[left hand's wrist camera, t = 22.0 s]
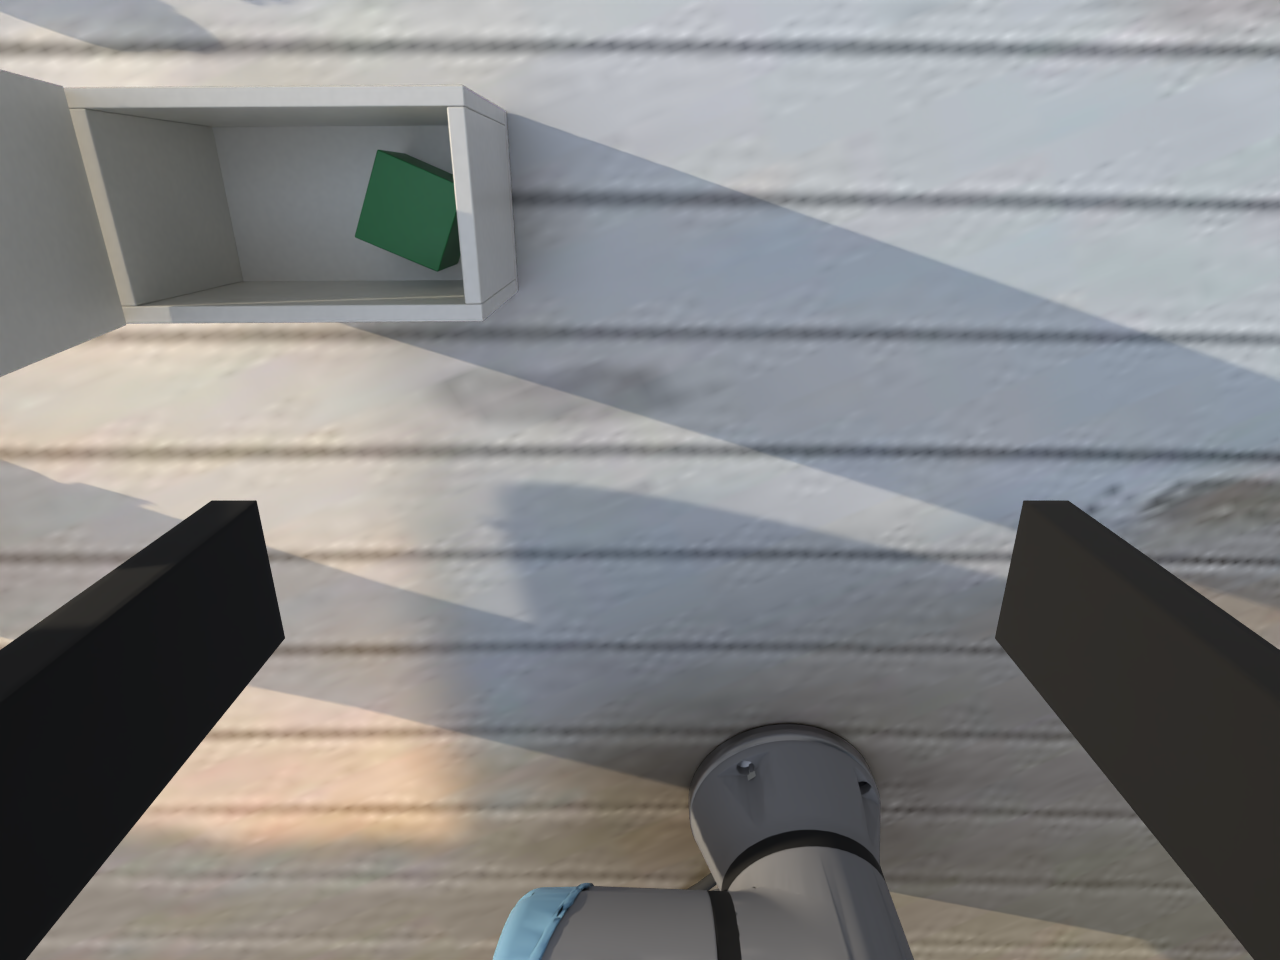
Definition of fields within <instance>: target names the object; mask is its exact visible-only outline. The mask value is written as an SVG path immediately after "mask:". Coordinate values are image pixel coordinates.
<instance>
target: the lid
mask: <svg viewBox="0 0 1280 960" xmlns="http://www.w3.org/2000/svg"><path fill="white" fill-rule="evenodd" d="M125 325H126V321H125V317H124V313H123V309H122V306H121V302H120V298H119V294H118V291H117V287H116V283H115V279H114V276H113V272H112V268H111V264H110V261H109V257H108V253H107V249H106V245H105V242H104V238H103V234H102V230H101V227H100V223H99V219H98V215H97V212H96V208H95V204H94V200H93V197H92V193H91V189H90V185H89V182H88V178H87V174H86V170H85V167H84V163H83V159H82V155H81V152H80V148H79V144H78V140H77V137H76V133H75V129H74V125H73V122H72V118H71V114H70V110H69V107H68V103H67V99H66V95H65V92H64V88H63V86H60V85H56V84H53V83H49V82H45V81H41V80H37V79H34V78H30V77H26V76H22V75H19V74H15V73H11V72H7V71H4V70H0V377H1V376H4V375H6V374H8V373H11V372H13V371H16V370H18V369H21V368H23V367H25V366H28V365H30V364H33V363H35V362H38V361H40V360H42V359H45V358H47V357H50V356H52V355H55V354H57V353H59V352H62V351H64V350H67V349H69V348H72V347H74V346H76V345H79V344H81V343H84V342H86V341H89V340H91V339H93V338H96V337H98V336H101V335H103V334H106V333H108V332H110V331H113V330H115V329H118V328H120V327H123V326H125Z"/></svg>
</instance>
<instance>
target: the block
mask: <svg viewBox="0 0 1280 960" xmlns="http://www.w3.org/2000/svg"><path fill="white" fill-rule="evenodd" d="M355 238H357V239H360V240H362V241H365V242H367V243H369V244H372V245H374V246H377V247H379V248H381V249H384V250H386V251H389V252H391V253H393V254H396V255H398V256H401V257H403V258H405V259H408V260H410V261H413V262H415V263H417V264H420V265H422V266H424V267H427V268H429V269H432V270H434V271H436V272H439V271H441V270H443V269H446V268H448V267H451V266H453V265H456V264H458V261H459V258H460V255H461V254H460V243H459V233H458V222H457V211H456V200H455V190H454V179H453V174H451V173H448V172H446V171H444V170H442V169H439V168H437V167H435V166H432V165H430V164H428V163H426V162H423V161H421V160H419V159H417V158H414V157H412V156H410V155H407V154H405V153H398V152H392V151H385V150H377V153H376V157H375V160H374V164H373V168H372V172H371V176H370V179H369V183H368V187H367V191H366V195H365V199H364V202H363V206H362V210H361V214H360V218H359V221H358V225H357V229H356V233H355Z"/></svg>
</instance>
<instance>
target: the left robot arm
mask: <svg viewBox="0 0 1280 960" xmlns="http://www.w3.org/2000/svg"><path fill="white" fill-rule="evenodd" d="M284 639H285V636H284V631H283V626H282V621H281V617H280V612H279V607H278V602H277V597H276V593H275V588H274V583H273V578H272V573H271V568H270V564H269V559H268V554H267V549H266V544H265V539H264V535H263V530H262V525H261V520H260V515H259V510H258V506H257V501H211V502H209V503H208V504H206V505H205V506H203V507H202V508H201V509H199V510H198V511H196V512H195V513H194V514H192V515H191V516H189V517H188V518H186V519H185V520H184V521H182V522H181V523H179V524H178V525H177V526H175V527H174V528H172V529H171V530H170V531H168V532H167V533H165V534H164V535H162V536H161V537H160V538H158V539H157V540H155V541H154V542H153V543H151V544H150V545H148V546H147V547H145V548H144V549H143V550H141V551H140V552H138V553H137V554H136V555H134V556H133V557H131V558H130V559H128V560H127V561H126V562H124V563H123V564H121V565H120V566H119V567H117V568H116V569H114V570H113V571H112V572H110V573H109V574H107V575H106V576H104V577H103V578H102V579H100V580H99V581H97V582H96V583H95V584H93V585H92V586H90V587H89V588H87V589H86V590H85V591H83V592H82V593H80V594H79V595H78V596H76V597H75V598H73V599H72V600H70V601H69V602H68V603H66V604H65V605H63V606H62V607H61V608H59V609H58V610H56V611H55V612H54V613H52V614H51V615H49V616H48V617H46V618H45V619H44V620H42V621H41V622H39V623H38V624H37V625H35V626H34V627H32V628H31V629H29V630H28V631H27V632H25V633H24V634H22V635H21V636H20V637H18V638H17V639H15V640H14V641H13V642H11V643H10V644H8V645H7V646H5V647H4V648H3V649H1V650H0V960H26V959H27V957H28V956H29V955H30V954H31V953H32V951H33V950H34V949H35V948H36V946H37V945H38V944H39V943H40V941H41V940H42V939H43V938H44V936H45V935H46V934H47V933H48V931H49V930H50V929H51V928H52V926H53V925H54V924H55V923H56V922H57V920H58V919H59V918H60V917H61V915H62V914H63V913H64V912H65V910H66V909H67V908H68V907H69V905H70V904H71V903H72V902H73V900H74V899H75V898H76V897H77V895H78V894H79V893H80V892H81V891H82V889H83V888H84V887H85V886H86V884H87V883H88V882H89V881H90V879H91V878H92V877H93V876H94V874H95V873H96V872H97V871H98V869H99V868H100V867H101V866H102V864H103V863H104V862H105V861H106V859H107V858H108V857H109V856H110V855H111V853H112V852H113V851H114V850H115V848H116V847H117V846H118V845H119V843H120V842H121V841H122V840H123V838H124V837H125V836H126V835H127V833H128V832H129V831H130V830H131V828H132V827H133V826H134V825H135V824H136V822H137V821H138V820H139V819H140V817H141V816H142V815H143V814H144V812H145V811H146V810H147V809H148V807H149V806H150V805H151V804H152V802H153V801H154V800H155V799H156V797H157V796H158V795H159V794H160V793H161V791H162V790H163V789H164V788H165V786H166V785H167V784H168V783H169V781H170V780H171V779H172V778H173V776H174V775H175V774H176V773H177V771H178V770H179V769H180V768H181V766H182V765H183V764H184V763H185V762H186V760H187V759H188V758H189V757H190V755H191V754H192V753H193V752H194V750H195V749H196V748H197V747H198V745H199V744H200V743H201V742H202V740H203V739H204V738H205V737H206V735H207V734H208V733H209V732H210V731H211V729H212V728H213V727H214V726H215V724H216V723H217V722H218V721H219V719H220V718H221V717H222V716H223V714H224V713H225V712H226V711H227V709H228V708H229V707H230V706H231V704H232V703H233V702H234V701H235V700H236V698H237V697H238V696H239V695H240V693H241V692H242V691H243V690H244V688H245V687H246V686H247V685H248V683H249V682H250V681H251V680H252V678H253V677H254V676H255V675H256V673H257V672H258V671H259V670H260V669H261V667H262V666H263V665H264V664H265V662H266V661H267V660H268V659H269V657H270V656H271V655H272V654H273V652H274V651H275V650H276V649H277V647H278V646H279V645H280V644H281V642H282V641H283V640H284ZM995 639H996V640H997V641H998V642H999V644H1000V645H1001V646H1002V647H1003V649H1004V650H1005V651H1006V652H1007V654H1008V655H1009V656H1010V657H1011V659H1012V660H1013V661H1014V662H1015V664H1016V665H1017V666H1018V667H1019V669H1020V670H1021V671H1022V672H1023V673H1024V675H1025V676H1026V677H1027V678H1028V680H1029V681H1030V682H1031V683H1032V685H1033V686H1034V687H1035V688H1036V690H1037V691H1038V692H1039V693H1040V695H1041V696H1042V697H1043V698H1044V700H1045V701H1046V702H1047V703H1048V704H1049V706H1050V707H1051V708H1052V709H1053V711H1054V712H1055V713H1056V714H1057V716H1058V717H1059V718H1060V719H1061V721H1062V722H1063V723H1064V724H1065V726H1066V727H1067V728H1068V729H1069V731H1070V732H1071V733H1072V734H1073V735H1074V737H1075V738H1076V739H1077V740H1078V742H1079V743H1080V744H1081V745H1082V747H1083V748H1084V749H1085V750H1086V752H1087V753H1088V754H1089V755H1090V757H1091V758H1092V759H1093V760H1094V762H1095V763H1096V764H1097V765H1098V766H1099V768H1100V769H1101V770H1102V771H1103V773H1104V774H1105V775H1106V776H1107V778H1108V779H1109V780H1110V781H1111V783H1112V784H1113V785H1114V786H1115V788H1116V789H1117V790H1118V791H1119V793H1120V794H1121V795H1122V796H1123V797H1124V799H1125V800H1126V801H1127V802H1128V804H1129V805H1130V806H1131V807H1132V809H1133V810H1134V811H1135V812H1136V814H1137V815H1138V816H1139V817H1140V819H1141V820H1142V821H1143V822H1144V824H1145V825H1146V826H1147V827H1148V828H1149V830H1150V831H1151V832H1152V833H1153V835H1154V836H1155V837H1156V838H1157V840H1158V841H1159V842H1160V843H1161V845H1162V846H1163V847H1164V848H1165V850H1166V851H1167V852H1168V853H1169V855H1170V856H1171V857H1172V858H1173V860H1174V861H1175V862H1176V863H1177V864H1178V866H1179V867H1180V868H1181V869H1182V871H1183V872H1184V873H1185V874H1186V876H1187V877H1188V878H1189V879H1190V881H1191V882H1192V883H1193V884H1194V886H1195V887H1196V888H1197V889H1198V891H1199V892H1200V893H1201V894H1202V895H1203V897H1204V898H1205V899H1206V900H1207V902H1208V903H1209V904H1210V905H1211V907H1212V908H1213V909H1214V910H1215V912H1216V913H1217V914H1218V915H1219V917H1220V918H1221V919H1222V920H1223V922H1224V923H1225V924H1226V925H1227V926H1228V928H1229V929H1230V930H1231V931H1232V933H1233V934H1234V935H1235V936H1236V938H1237V939H1238V940H1239V941H1240V943H1241V944H1242V945H1243V946H1244V948H1245V949H1246V950H1247V951H1248V953H1249V954H1250V955H1251V956H1252V957H1253V959H1254V960H1280V650H1279V649H1277V648H1276V647H1275V646H1273V645H1272V644H1270V643H1269V642H1267V641H1266V640H1265V639H1263V638H1262V637H1260V636H1259V635H1258V634H1256V633H1255V632H1253V631H1252V630H1251V629H1249V628H1248V627H1246V626H1245V625H1243V624H1242V623H1241V622H1239V621H1238V620H1236V619H1235V618H1234V617H1232V616H1231V615H1229V614H1228V613H1226V612H1225V611H1224V610H1222V609H1221V608H1219V607H1218V606H1217V605H1215V604H1214V603H1212V602H1211V601H1209V600H1208V599H1207V598H1205V597H1204V596H1202V595H1201V594H1200V593H1198V592H1197V591H1195V590H1194V589H1193V588H1191V587H1190V586H1188V585H1187V584H1185V583H1184V582H1183V581H1181V580H1180V579H1178V578H1177V577H1176V576H1174V575H1173V574H1171V573H1170V572H1168V571H1167V570H1166V569H1164V568H1163V567H1161V566H1160V565H1159V564H1157V563H1156V562H1154V561H1153V560H1152V559H1150V558H1149V557H1147V556H1146V555H1144V554H1143V553H1142V552H1140V551H1139V550H1137V549H1136V548H1135V547H1133V546H1132V545H1130V544H1129V543H1127V542H1126V541H1125V540H1123V539H1122V538H1120V537H1119V536H1118V535H1116V534H1115V533H1113V532H1112V531H1110V530H1109V529H1108V528H1106V527H1105V526H1103V525H1102V524H1101V523H1099V522H1098V521H1096V520H1095V519H1094V518H1092V517H1091V516H1089V515H1088V514H1086V513H1085V512H1084V511H1082V510H1081V509H1079V508H1078V507H1077V506H1075V505H1074V504H1072V503H1071V502H1069V501H1023V506H1022V510H1021V515H1020V520H1019V525H1018V530H1017V535H1016V539H1015V544H1014V549H1013V554H1012V559H1011V564H1010V568H1009V573H1008V578H1007V583H1006V588H1005V593H1004V597H1003V602H1002V607H1001V612H1000V617H999V621H998V626H997V631H996V636H995ZM689 816H690V825H691V830H692V834H693V836H694V839H695V841H696V843H697V845H698V847H699V849H700V851H701V853H702V855H703V857H704V859H705V861H706V863H707V865H708V867H709V869H710V871H711V873H710V874H709V875H707V876H706V877H705V878H703V879H702V880H701V881H699V882H698V883H697V884H695V885H693V886H692V887H690V888H689V889H687V890H683V889H656V888H629V887H602V886H594V885H593V884H592V883H583V884H580V885H579V886H577V887H542V888H537V889H534V890H532V891H530V892H528V893H527V894H525V895H524V896H523V897H522V898H521V899H520V900H519V901H518V903H517V904H516V906H515V907H514V908H513V909H512V911H511V913H510V915H509V917H508V919H507V921H506V923H505V926H504V928H503V930H502V933H501V936H500V939H499V941H498V944H497V947H496V950H495V954H494V957H493V960H914V958H913V956H912V953H911V950H910V947H909V945H908V942H907V939H906V936H905V934H904V931H903V928H902V926H901V923H900V920H899V917H898V915H897V912H896V909H895V906H894V904H893V901H892V898H891V895H890V893H889V890H888V887H887V884H886V882H885V879H884V876H883V873H882V870H881V867H880V796H879V792H878V789H877V786H876V784H875V781H874V778H873V776H872V773H871V771H870V769H869V766H868V764H867V763H866V761H865V759H864V758H863V757H862V755H861V754H860V753H859V752H858V751H857V750H856V749H855V748H854V747H853V746H852V745H851V744H850V743H848V742H847V741H845V740H844V739H842V738H841V737H839V736H837V735H835V734H833V733H831V732H828V731H826V730H823V729H820V728H816V727H811V726H806V725H798V724H778V725H769V726H764V727H759V728H755V729H752V730H749V731H746V732H743V733H741V734H739V735H736V736H734V737H733V738H731V739H729V740H727V741H725V742H724V743H722V744H721V745H720V746H718V747H717V748H716V749H715V750H713V751H712V752H711V753H710V754H709V755H708V756H707V757H706V758H705V759H704V761H703V762H702V763H701V765H700V766H699V768H698V769H697V771H696V773H695V775H694V777H693V779H692V782H691V785H690V789H689ZM716 884H717V885H718V887H719V890H720V891H708V890H710V889H711V888H712V887H714V886H715V885H716Z"/></svg>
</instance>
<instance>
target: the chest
mask: <svg viewBox="0 0 1280 960" xmlns="http://www.w3.org/2000/svg"><path fill="white" fill-rule="evenodd" d="M63 88H64V92H65V95H66V99H67V103H68V107H69V110H70V114H71V118H72V122H73V125H74V129H75V133H76V137H77V140H78V144H79V148H80V152H81V155H82V159H83V163H84V167H85V170H86V174H87V178H88V182H89V185H90V189H91V193H92V197H93V200H94V204H95V208H96V212H97V215H98V219H99V223H100V227H101V230H102V234H103V238H104V242H105V245H106V249H107V253H108V257H109V261H110V264H111V268H112V272H113V276H114V279H115V283H116V287H117V291H118V294H119V298H120V302H121V306H122V309H123V313H124V317H125V321H126V324H140V323H304V322H468V321H484V320H485V319H486V318H487V317H489V316H490V315H491V314H492V313H493V312H495V311H496V310H497V309H498V308H499V307H500V306H502V305H503V304H504V303H505V302H506V301H508V300H509V299H510V298H511V297H512V296H513V295H515V294H516V293H517V292H518V279H517V264H516V249H515V234H514V219H513V204H512V189H511V174H510V159H509V144H508V129H507V114H506V111H505V110H504V109H502V108H501V107H499V106H497V105H496V104H494V103H492V102H491V101H489V100H487V99H486V98H484V97H482V96H480V95H479V94H477V93H475V92H474V91H472V90H470V89H469V88H467V87H465V86H463V85H364V86H210V87H63ZM377 150H385V151H392V152H398V153H405V154H407V155H410V156H412V157H414V158H417V159H419V160H421V161H423V162H426V163H428V164H430V165H432V166H435V167H437V168H439V169H442V170H444V171H446V172H448V173H451V174H453V179H454V190H455V200H456V211H457V222H458V233H459V243H460V254H461V255H460V258H459V261H458V264H456V265H453V266H451V267H448V268H446V269H443V270H441V271H439V272H436V271H434V270H432V269H429V268H427V267H424V266H422V265H420V264H417V263H415V262H413V261H410V260H408V259H405V258H403V257H401V256H398V255H396V254H393V253H391V252H389V251H386V250H384V249H381V248H379V247H377V246H374V245H372V244H369V243H367V242H365V241H362V240H360V239H357V238H355V233H356V229H357V225H358V221H359V218H360V214H361V210H362V206H363V202H364V199H365V195H366V191H367V187H368V183H369V179H370V176H371V172H372V168H373V164H374V160H375V157H376V153H377Z"/></svg>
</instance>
